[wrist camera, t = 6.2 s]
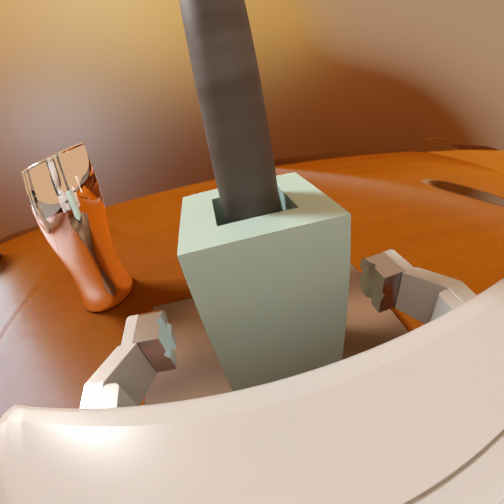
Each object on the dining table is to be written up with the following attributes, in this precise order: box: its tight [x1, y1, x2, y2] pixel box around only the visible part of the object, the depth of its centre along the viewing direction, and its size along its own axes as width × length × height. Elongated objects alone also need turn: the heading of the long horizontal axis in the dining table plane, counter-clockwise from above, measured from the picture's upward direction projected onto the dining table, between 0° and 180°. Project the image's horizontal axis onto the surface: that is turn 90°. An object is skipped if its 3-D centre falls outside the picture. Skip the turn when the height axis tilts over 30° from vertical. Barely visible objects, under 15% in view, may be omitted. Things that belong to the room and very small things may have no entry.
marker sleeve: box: [177, 172, 351, 391], centre depth 12 cm, size 5×5×8 cm
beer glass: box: [21, 142, 133, 312], centre depth 22 cm, size 7×7×15 cm
